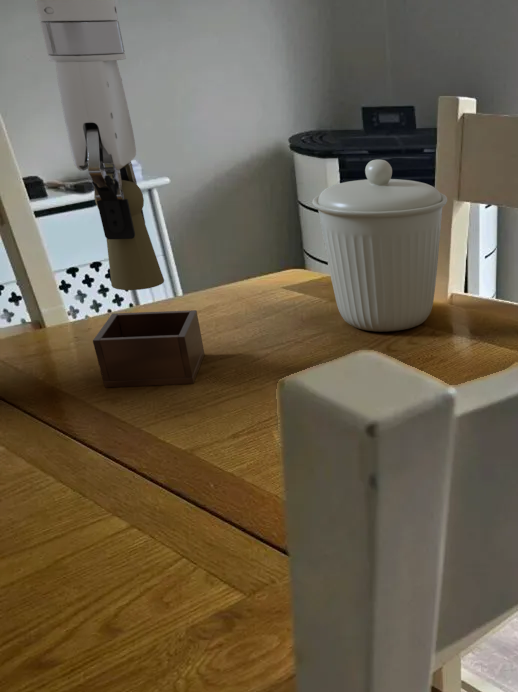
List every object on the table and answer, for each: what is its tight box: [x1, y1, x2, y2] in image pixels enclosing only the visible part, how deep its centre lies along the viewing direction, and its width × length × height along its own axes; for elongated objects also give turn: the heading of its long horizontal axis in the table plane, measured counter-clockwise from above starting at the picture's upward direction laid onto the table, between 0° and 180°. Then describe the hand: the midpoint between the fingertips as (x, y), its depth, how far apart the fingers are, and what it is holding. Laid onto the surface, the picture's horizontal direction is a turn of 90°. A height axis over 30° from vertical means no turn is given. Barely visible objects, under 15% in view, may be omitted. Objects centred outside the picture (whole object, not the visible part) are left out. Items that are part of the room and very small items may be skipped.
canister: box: [311, 159, 448, 333], centre depth 114 cm, size 18×18×21 cm
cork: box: [93, 180, 165, 291], centre depth 95 cm, size 6×6×11 cm
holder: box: [92, 309, 205, 389], centre depth 103 cm, size 11×11×6 cm
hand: (126, 230), depth 95 cm, fingers closed on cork, 5 cm apart
